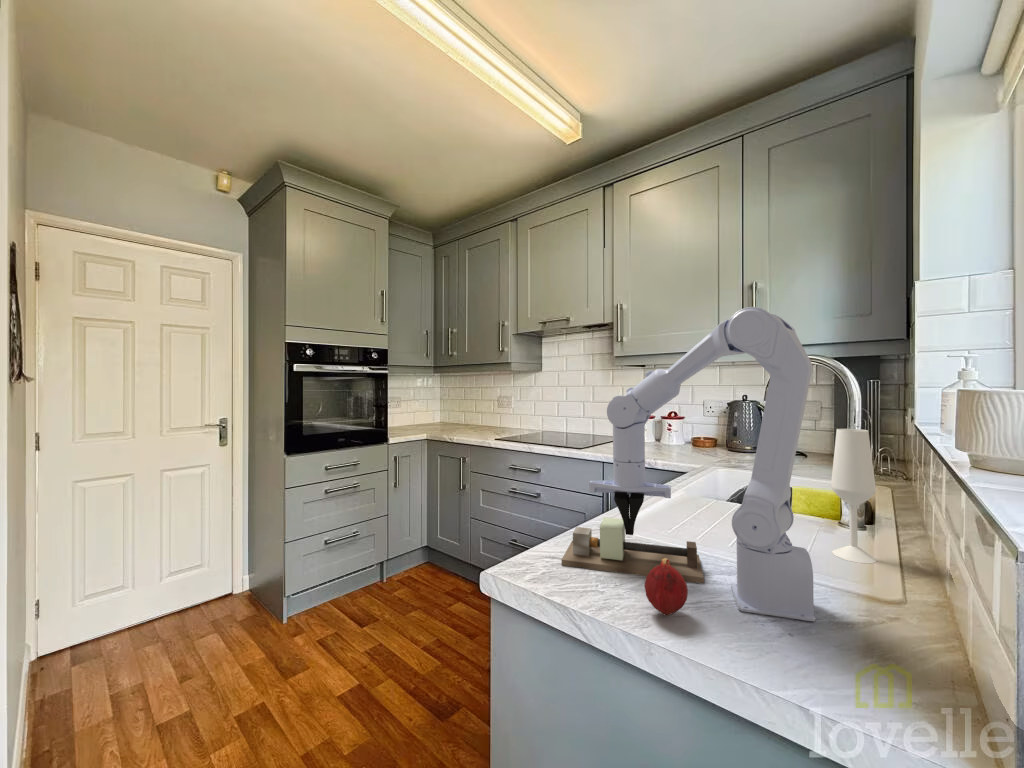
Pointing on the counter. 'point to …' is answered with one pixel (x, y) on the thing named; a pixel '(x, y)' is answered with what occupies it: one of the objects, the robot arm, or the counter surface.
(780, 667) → the counter surface
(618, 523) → the sleeve
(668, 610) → the onion
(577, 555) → the cord board
